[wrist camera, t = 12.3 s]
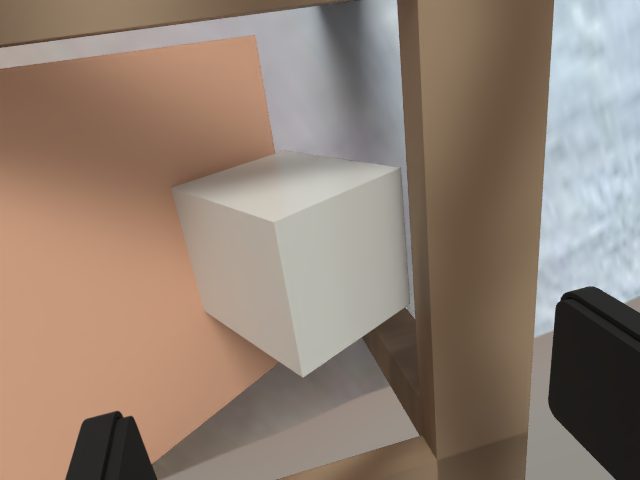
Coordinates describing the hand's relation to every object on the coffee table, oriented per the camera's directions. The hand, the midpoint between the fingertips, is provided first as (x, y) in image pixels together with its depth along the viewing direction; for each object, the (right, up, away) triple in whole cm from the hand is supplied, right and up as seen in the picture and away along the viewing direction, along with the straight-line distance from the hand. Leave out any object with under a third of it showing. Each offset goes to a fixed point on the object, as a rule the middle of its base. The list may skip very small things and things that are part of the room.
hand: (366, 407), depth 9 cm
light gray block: (-4, +4, +9) cm, 11 cm away
